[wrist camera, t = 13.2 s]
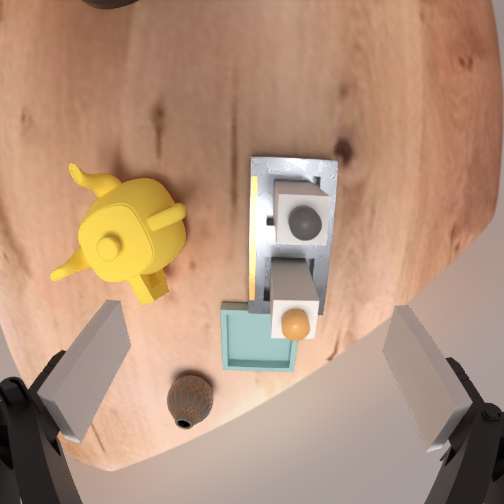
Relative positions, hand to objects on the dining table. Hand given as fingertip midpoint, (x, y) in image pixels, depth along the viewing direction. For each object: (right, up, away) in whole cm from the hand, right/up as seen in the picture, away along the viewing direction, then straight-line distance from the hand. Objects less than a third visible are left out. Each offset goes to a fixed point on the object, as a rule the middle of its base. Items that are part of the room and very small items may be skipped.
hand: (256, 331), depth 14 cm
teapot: (-15, +7, +23) cm, 29 cm away
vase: (-9, -17, +32) cm, 37 cm away
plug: (+4, +1, +23) cm, 24 cm away
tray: (+1, -8, +28) cm, 29 cm away
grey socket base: (+4, +6, +23) cm, 24 cm away
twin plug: (+4, +10, +20) cm, 23 cm away
